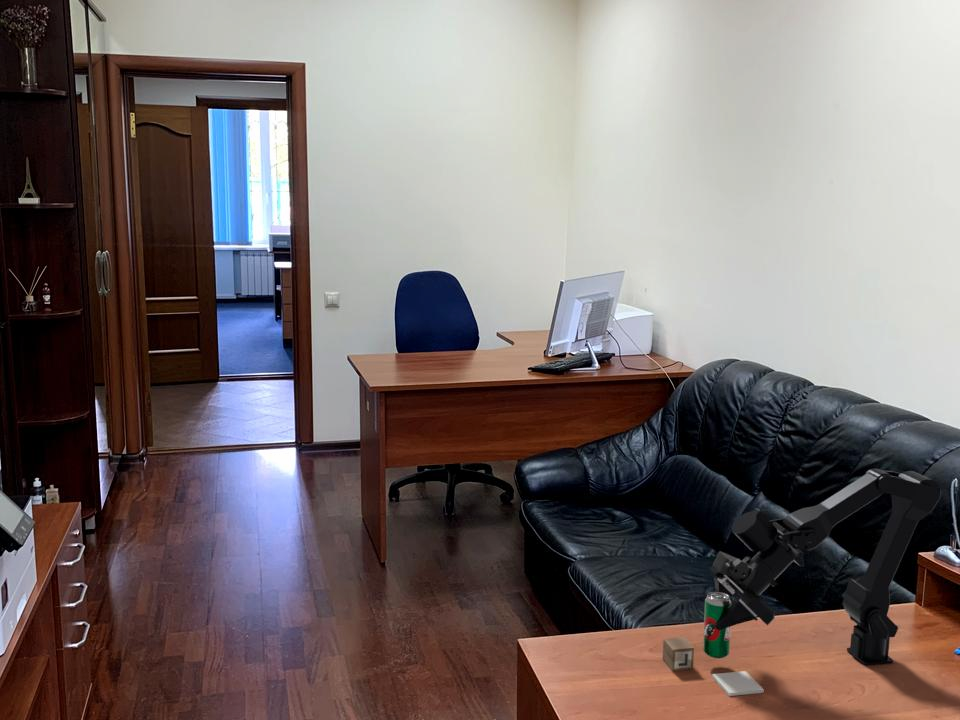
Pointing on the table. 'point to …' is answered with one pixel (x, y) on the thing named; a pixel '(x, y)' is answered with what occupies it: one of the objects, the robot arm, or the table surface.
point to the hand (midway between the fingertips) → (710, 622)
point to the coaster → (737, 683)
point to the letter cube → (678, 653)
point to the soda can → (714, 639)
